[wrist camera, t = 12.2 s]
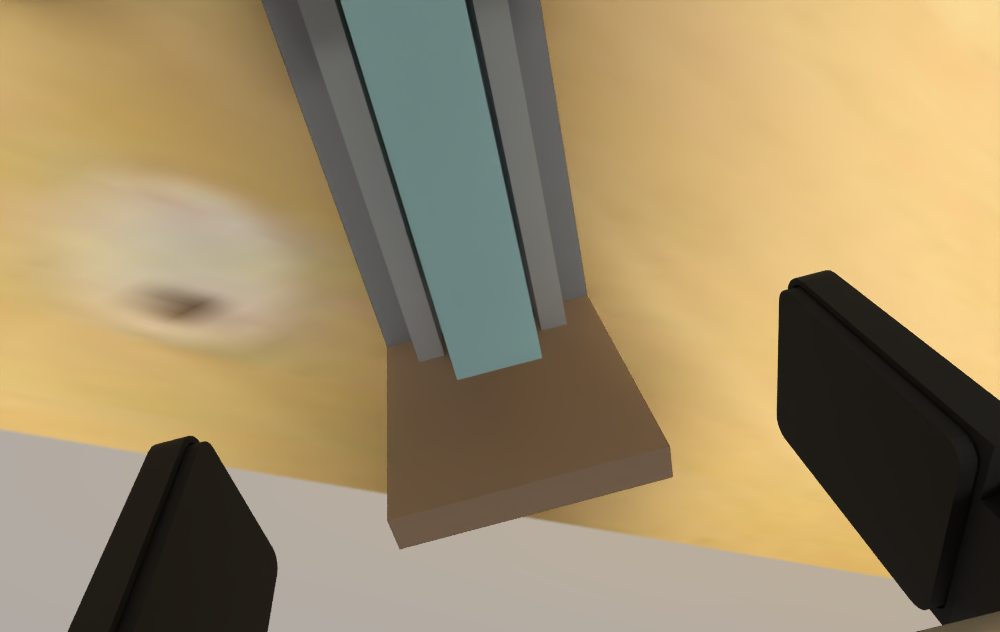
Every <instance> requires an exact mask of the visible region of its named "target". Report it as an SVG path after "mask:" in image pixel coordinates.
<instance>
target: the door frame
mask: <svg viewBox="0 0 1000 632" xmlns="http://www.w3.org/2000/svg"><path fill="white" fill-rule="evenodd" d="M262 3H263V6H264V8H265V11H266V14H267V17H268V19H269V22H270V25H271V28H272V30H273V33H274V36H275V39H276V42H277V44H278V47H279V50H280V53H281V55H282V58H283V61H284V64H285V66H286V69H287V72H288V75H289V77H290V80H291V83H292V86H293V88H294V91H295V94H296V97H297V99H298V102H299V105H300V108H301V110H302V113H303V116H304V119H305V122H306V124H307V127H308V130H309V133H310V135H311V138H312V141H313V144H314V146H315V149H316V152H317V155H318V157H319V160H320V163H321V166H322V168H323V171H324V174H325V177H326V179H327V182H328V185H329V188H330V191H331V193H332V196H333V199H334V202H335V204H336V207H337V210H338V213H339V215H340V218H341V221H342V224H343V226H344V229H345V232H346V235H347V237H348V240H349V243H350V246H351V248H352V251H353V254H354V257H355V259H356V262H357V265H358V268H359V271H360V273H361V276H362V279H363V282H364V284H365V287H366V290H367V293H368V295H369V298H370V301H371V304H372V306H373V309H374V312H375V315H376V317H377V320H378V323H379V326H380V328H381V331H382V334H383V337H384V339H385V342H386V345H387V521H388V523H389V525H390V528H391V530H392V532H393V535H394V537H395V539H396V542H397V544H398V546H399V549H403V548H406V547H410V546H414V545H418V544H421V543H425V542H429V541H433V540H437V539H440V538H444V537H448V536H452V535H456V534H459V533H463V532H467V531H471V530H474V529H478V528H482V527H486V526H490V525H493V524H497V523H501V522H505V521H508V520H512V519H516V518H520V517H524V516H527V515H531V514H535V513H539V512H543V511H546V510H550V509H554V508H558V507H561V506H565V505H569V504H573V503H577V502H580V501H584V500H588V499H592V498H596V497H599V496H603V495H607V494H611V493H614V492H618V491H622V490H626V489H630V488H633V487H637V486H641V485H645V484H648V483H652V482H656V481H660V480H664V479H667V478H671V477H673V473H672V463H671V453H670V446H669V444H668V442H667V440H666V438H665V436H664V435H663V433H662V431H661V429H660V427H659V426H658V424H657V422H656V420H655V418H654V416H653V415H652V413H651V411H650V409H649V407H648V405H647V404H646V402H645V400H644V398H643V396H642V394H641V393H640V391H639V389H638V387H637V385H636V384H635V382H634V380H633V378H632V376H631V374H630V373H629V371H628V369H627V367H626V365H625V363H624V362H623V360H622V358H621V356H620V354H619V352H618V351H617V349H616V347H615V345H614V343H613V342H612V340H611V338H610V336H609V334H608V332H607V331H606V329H605V327H604V325H603V323H602V321H601V320H600V318H599V316H598V314H597V312H596V310H595V309H594V307H593V305H592V303H591V301H590V299H589V298H588V296H587V291H586V284H585V278H584V272H583V266H582V260H581V253H580V247H579V241H578V235H577V228H576V222H575V216H574V210H573V203H572V197H571V191H570V185H569V178H568V172H567V166H566V160H565V153H564V147H563V141H562V135H561V128H560V122H559V116H558V110H557V103H556V97H555V91H554V85H553V78H552V72H551V66H550V60H549V53H548V47H547V41H546V35H545V28H544V22H543V16H542V10H541V3H540V0H465V3H466V8H467V12H468V17H469V21H470V26H471V31H472V35H473V40H474V44H475V49H476V54H477V58H478V63H479V68H480V72H481V77H482V81H483V86H484V91H485V95H486V100H487V104H488V109H489V114H490V118H491V123H492V128H493V132H494V137H495V141H496V146H497V151H498V155H499V160H500V164H501V169H502V174H503V178H504V183H505V187H506V192H507V197H508V201H509V206H510V211H511V215H512V220H513V224H514V229H515V234H516V238H517V243H518V247H519V252H520V257H521V261H522V266H523V270H524V275H525V280H526V284H527V289H528V294H529V298H530V303H531V307H532V312H533V317H534V321H535V326H536V330H537V335H538V340H539V344H540V349H541V354H542V358H540V359H536V360H533V361H529V362H525V363H521V364H517V365H514V366H510V367H506V368H502V369H498V370H494V371H491V372H487V373H483V374H479V375H475V376H471V377H468V378H464V379H460V380H457V378H456V375H455V371H454V368H453V365H452V362H451V358H450V355H449V352H448V349H447V345H446V342H445V339H444V336H443V332H442V329H441V326H440V323H439V319H438V316H437V313H436V310H435V306H434V303H433V300H432V297H431V293H430V290H429V287H428V284H427V280H426V277H425V274H424V271H423V267H422V264H421V261H420V258H419V254H418V251H417V248H416V244H415V241H414V238H413V235H412V231H411V228H410V225H409V222H408V218H407V215H406V212H405V209H404V205H403V202H402V199H401V196H400V192H399V189H398V186H397V183H396V179H395V176H394V173H393V170H392V166H391V163H390V160H389V157H388V153H387V150H386V147H385V144H384V140H383V137H382V134H381V131H380V127H379V124H378V121H377V118H376V114H375V111H374V108H373V105H372V101H371V98H370V95H369V92H368V88H367V85H366V82H365V79H364V75H363V72H362V69H361V66H360V62H359V59H358V56H357V53H356V49H355V46H354V43H353V40H352V36H351V33H350V30H349V26H348V23H347V20H346V17H345V13H344V10H343V7H342V4H341V0H262Z"/></svg>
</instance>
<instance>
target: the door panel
mask: <svg viewBox="0 0 1000 632" xmlns="http://www.w3.org/2000/svg"><path fill="white" fill-rule="evenodd" d="M341 4H342V7H343V10H344V13H345V17H346V20H347V23H348V26H349V30H350V33H351V36H352V40H353V43H354V46H355V49H356V53H357V56H358V59H359V62H360V66H361V69H362V72H363V75H364V79H365V82H366V85H367V88H368V92H369V95H370V98H371V101H372V105H373V108H374V111H375V114H376V118H377V121H378V124H379V127H380V131H381V134H382V137H383V140H384V144H385V147H386V150H387V153H388V157H389V160H390V163H391V166H392V170H393V173H394V176H395V179H396V183H397V186H398V189H399V192H400V196H401V199H402V202H403V205H404V209H405V212H406V215H407V218H408V222H409V225H410V228H411V231H412V235H413V238H414V241H415V244H416V248H417V251H418V254H419V258H420V261H421V264H422V267H423V271H424V274H425V277H426V280H427V284H428V287H429V290H430V293H431V297H432V300H433V303H434V306H435V310H436V313H437V316H438V319H439V323H440V326H441V329H442V332H443V336H444V339H445V342H446V345H447V349H448V352H449V355H450V358H451V362H452V365H453V368H454V371H455V375H456V378H457V380H460V379H464V378H468V377H471V376H475V375H479V374H483V373H487V372H491V371H494V370H498V369H502V368H506V367H510V366H514V365H517V364H521V363H525V362H529V361H533V360H536V359H540V358H542V354H541V349H540V344H539V340H538V335H537V330H536V326H535V321H534V317H533V312H532V307H531V303H530V298H529V294H528V289H527V284H526V280H525V275H524V270H523V266H522V261H521V257H520V252H519V247H518V243H517V238H516V234H515V229H514V224H513V220H512V215H511V211H510V206H509V201H508V197H507V192H506V187H505V183H504V178H503V174H502V169H501V164H500V160H499V155H498V151H497V146H496V141H495V137H494V132H493V128H492V123H491V118H490V114H489V109H488V104H487V100H486V95H485V91H484V86H483V81H482V77H481V72H480V68H479V63H478V58H477V54H476V49H475V44H474V40H473V35H472V31H471V26H470V21H469V17H468V12H467V8H466V3H465V0H341Z"/></svg>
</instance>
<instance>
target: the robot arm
mask: <svg viewBox="0 0 1000 632" xmlns="http://www.w3.org/2000/svg"><path fill="white" fill-rule="evenodd" d="M777 421H778V425H779V428H780V431H781V433H782V435H783V436H784V438H785V439H786V441H787V442H788V443H789V445H790V446H791V447H792V448H793V450H794V451H795V452H796V454H797V455H798V456H799V457H800V459H801V460H802V461H803V463H804V464H805V465H806V466H807V468H808V469H809V470H810V472H811V473H812V474H813V475H814V477H815V478H816V479H817V481H818V482H819V483H820V484H821V486H822V487H823V488H824V490H825V491H826V492H827V493H828V495H829V496H830V497H831V499H832V500H833V501H834V502H835V504H836V505H837V506H838V508H839V509H840V510H841V511H842V513H843V514H844V515H845V517H846V518H847V519H848V520H849V522H850V523H851V524H852V526H853V527H854V528H855V529H856V531H857V532H858V533H859V535H860V536H861V537H862V538H863V540H864V541H865V542H866V544H867V545H868V546H869V547H870V549H871V550H872V551H873V553H874V554H875V555H876V556H877V558H878V559H879V560H880V562H881V563H882V564H883V565H884V567H885V568H886V569H887V571H888V572H889V573H890V574H891V576H892V577H893V578H894V580H895V581H896V582H897V583H898V585H899V586H900V587H901V589H902V590H903V591H904V592H905V594H906V595H907V596H908V598H909V599H910V600H911V601H912V602H913V603H914V604H915V605H916V606H917V607H918V608H920V609H922V610H927V609H930V610H931V611H932V613H933V614H934V615H935V616H936V618H937V619H938V620H939V621H940V623H941V624H942V626H938V627H934V628H930V629H926V630H921V631H917V632H1000V400H998V399H997V398H996V397H994V396H993V395H992V394H990V393H989V392H988V391H987V390H985V389H984V388H983V387H981V386H980V385H979V384H978V383H976V382H975V381H974V380H972V379H971V378H970V377H969V376H967V375H966V374H965V373H963V372H962V371H961V370H960V369H958V368H957V367H956V366H954V365H953V364H952V363H950V362H949V361H948V360H947V359H945V358H944V357H943V356H941V355H940V354H939V353H938V352H936V351H935V350H934V349H932V348H931V347H930V346H929V345H927V344H926V343H925V342H923V341H922V340H921V339H919V338H918V337H917V336H916V335H914V334H913V333H912V332H910V331H909V330H908V329H907V328H905V327H904V326H903V325H901V324H900V323H899V322H898V321H896V320H895V319H894V318H892V317H891V316H890V315H889V314H887V313H886V312H885V311H883V310H882V309H881V308H879V307H878V306H877V305H876V304H874V303H873V302H872V301H870V300H869V299H868V298H867V297H865V296H864V295H863V294H861V293H860V292H859V291H858V290H856V289H855V288H854V287H852V286H851V285H850V284H848V283H847V282H846V281H845V280H843V279H842V278H841V277H839V276H838V275H837V274H836V273H834V272H832V271H830V270H825V271H821V272H817V273H814V274H810V275H806V276H802V277H798V278H794V279H793V280H791V281H790V283H789V285H788V290H784V291H782V292H781V294H780V298H779V333H778V382H777ZM276 577H277V559H276V555H275V552H274V550H273V548H272V546H271V544H270V543H269V541H268V539H267V537H266V536H265V534H264V533H263V531H262V529H261V527H260V526H259V524H258V522H257V521H256V519H255V517H254V516H253V514H252V512H251V511H250V509H249V507H248V506H247V504H246V502H245V500H244V499H243V497H242V495H241V494H240V492H239V490H238V489H237V487H236V486H235V484H234V482H233V480H232V479H231V477H230V475H229V474H228V472H227V470H226V469H225V467H224V465H223V463H222V462H221V460H220V458H219V457H218V455H217V453H216V452H215V450H214V448H213V447H212V446H211V444H210V443H208V442H205V441H204V442H199V441H198V439H196V438H195V437H194V436H186V437H183V438H179V439H175V440H171V441H167V442H163V443H160V444H156V445H154V446H152V447H151V449H150V450H149V452H148V454H147V456H146V458H145V461H144V463H143V465H142V467H141V469H140V472H139V474H138V476H137V478H136V481H135V483H134V485H133V487H132V489H131V492H130V494H129V496H128V499H127V501H126V503H125V505H124V507H123V510H122V512H121V514H120V516H119V519H118V521H117V523H116V525H115V527H114V530H113V532H112V534H111V536H110V538H109V541H108V543H107V545H106V547H105V550H104V552H103V554H102V556H101V558H100V561H99V563H98V565H97V568H96V570H95V572H94V574H93V576H92V579H91V581H90V583H89V585H88V587H87V590H86V592H85V594H84V596H83V599H82V601H81V603H80V605H79V608H78V610H77V612H76V614H75V616H74V619H73V621H72V623H71V625H70V628H69V630H68V632H267V631H268V625H269V619H270V613H271V607H272V601H273V594H274V588H275V583H276Z"/></svg>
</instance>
